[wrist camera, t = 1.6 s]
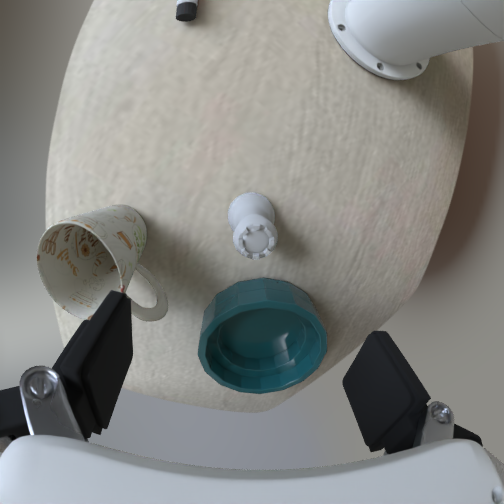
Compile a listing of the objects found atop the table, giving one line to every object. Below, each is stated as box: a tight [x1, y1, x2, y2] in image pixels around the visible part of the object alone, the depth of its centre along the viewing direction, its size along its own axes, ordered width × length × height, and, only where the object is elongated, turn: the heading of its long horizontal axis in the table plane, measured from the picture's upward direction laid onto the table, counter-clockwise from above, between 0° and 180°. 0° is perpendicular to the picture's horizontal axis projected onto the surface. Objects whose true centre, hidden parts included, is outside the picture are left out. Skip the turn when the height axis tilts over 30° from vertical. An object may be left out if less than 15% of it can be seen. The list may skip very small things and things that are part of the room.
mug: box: [37, 205, 168, 321], centre depth 22 cm, size 8×13×10 cm, turn 43°
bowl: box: [198, 278, 327, 394], centre depth 29 cm, size 14×14×5 cm
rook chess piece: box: [228, 193, 278, 259], centre depth 23 cm, size 4×4×8 cm
